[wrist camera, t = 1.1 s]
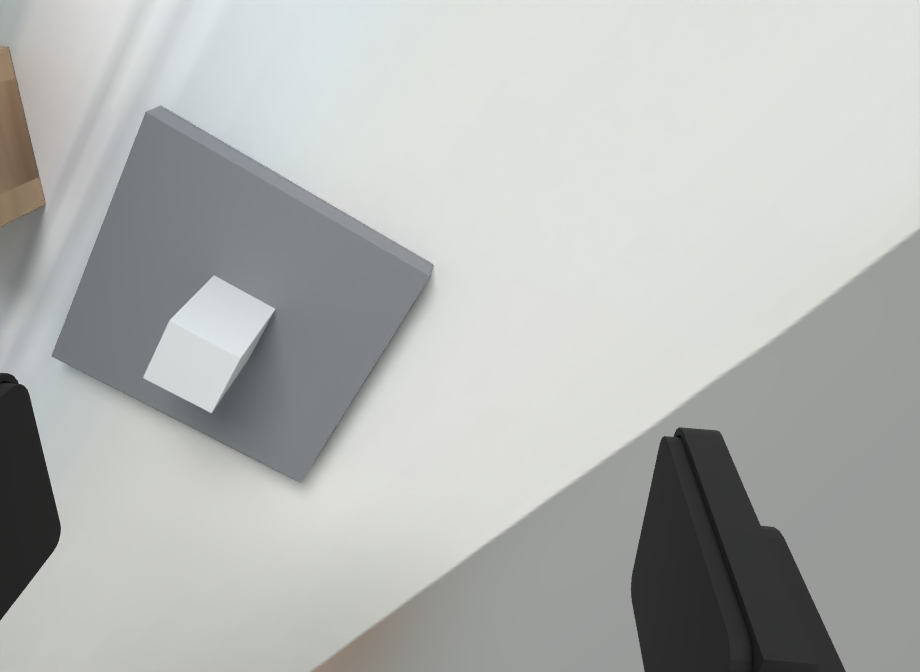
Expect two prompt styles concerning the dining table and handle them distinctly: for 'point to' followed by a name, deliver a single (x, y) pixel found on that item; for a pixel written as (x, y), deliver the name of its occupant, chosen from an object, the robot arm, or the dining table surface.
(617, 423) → the dining table surface
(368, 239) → the board
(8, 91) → the brown wooden square box
